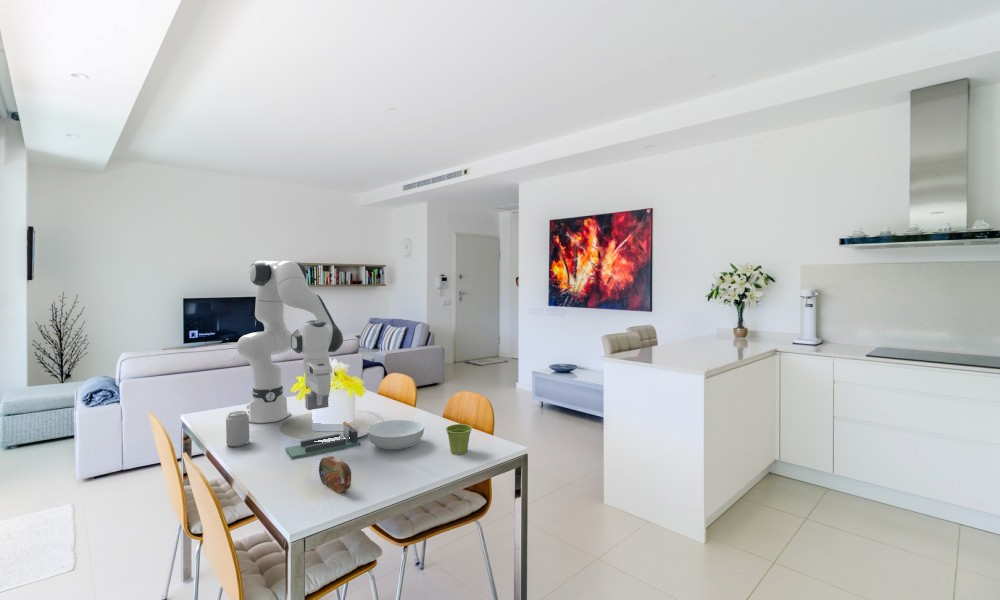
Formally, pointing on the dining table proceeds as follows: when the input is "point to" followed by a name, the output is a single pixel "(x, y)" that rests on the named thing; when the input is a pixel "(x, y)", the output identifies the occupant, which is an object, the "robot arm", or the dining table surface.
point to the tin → (335, 474)
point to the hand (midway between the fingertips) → (317, 403)
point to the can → (237, 428)
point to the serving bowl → (395, 434)
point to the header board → (324, 443)
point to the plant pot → (458, 438)
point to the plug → (311, 401)
